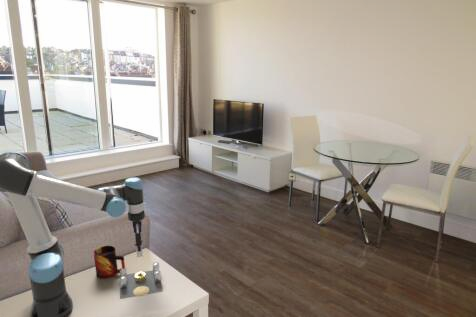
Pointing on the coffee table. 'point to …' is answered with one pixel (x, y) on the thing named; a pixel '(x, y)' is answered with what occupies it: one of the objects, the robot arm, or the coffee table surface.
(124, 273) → the spacer far left
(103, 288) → the coffee table surface
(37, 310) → the robot arm
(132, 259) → the coffee table surface
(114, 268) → the mug
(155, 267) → the spacer far right
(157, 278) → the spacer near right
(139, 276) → the nut
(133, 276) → the mat
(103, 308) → the coffee table surface
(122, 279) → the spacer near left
